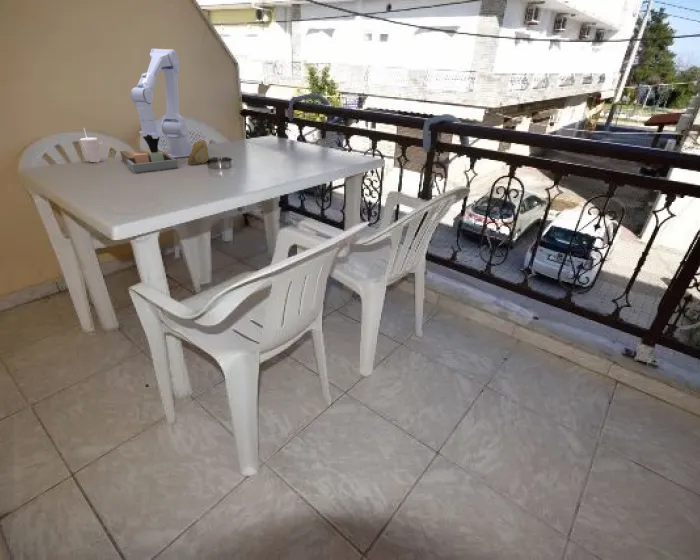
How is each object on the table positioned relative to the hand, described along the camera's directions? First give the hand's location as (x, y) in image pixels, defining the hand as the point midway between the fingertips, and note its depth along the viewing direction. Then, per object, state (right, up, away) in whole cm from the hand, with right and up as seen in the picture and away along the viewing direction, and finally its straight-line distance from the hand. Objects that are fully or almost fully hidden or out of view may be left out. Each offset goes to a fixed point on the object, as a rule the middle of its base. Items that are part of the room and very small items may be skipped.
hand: (154, 153), depth 163 cm
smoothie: (-28, -3, +3) cm, 28 cm away
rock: (+16, -2, +8) cm, 18 cm away
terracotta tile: (-4, -4, -3) cm, 6 cm away
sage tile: (0, -2, 0) cm, 2 cm away
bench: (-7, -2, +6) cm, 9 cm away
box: (+1, -7, -3) cm, 8 cm away
